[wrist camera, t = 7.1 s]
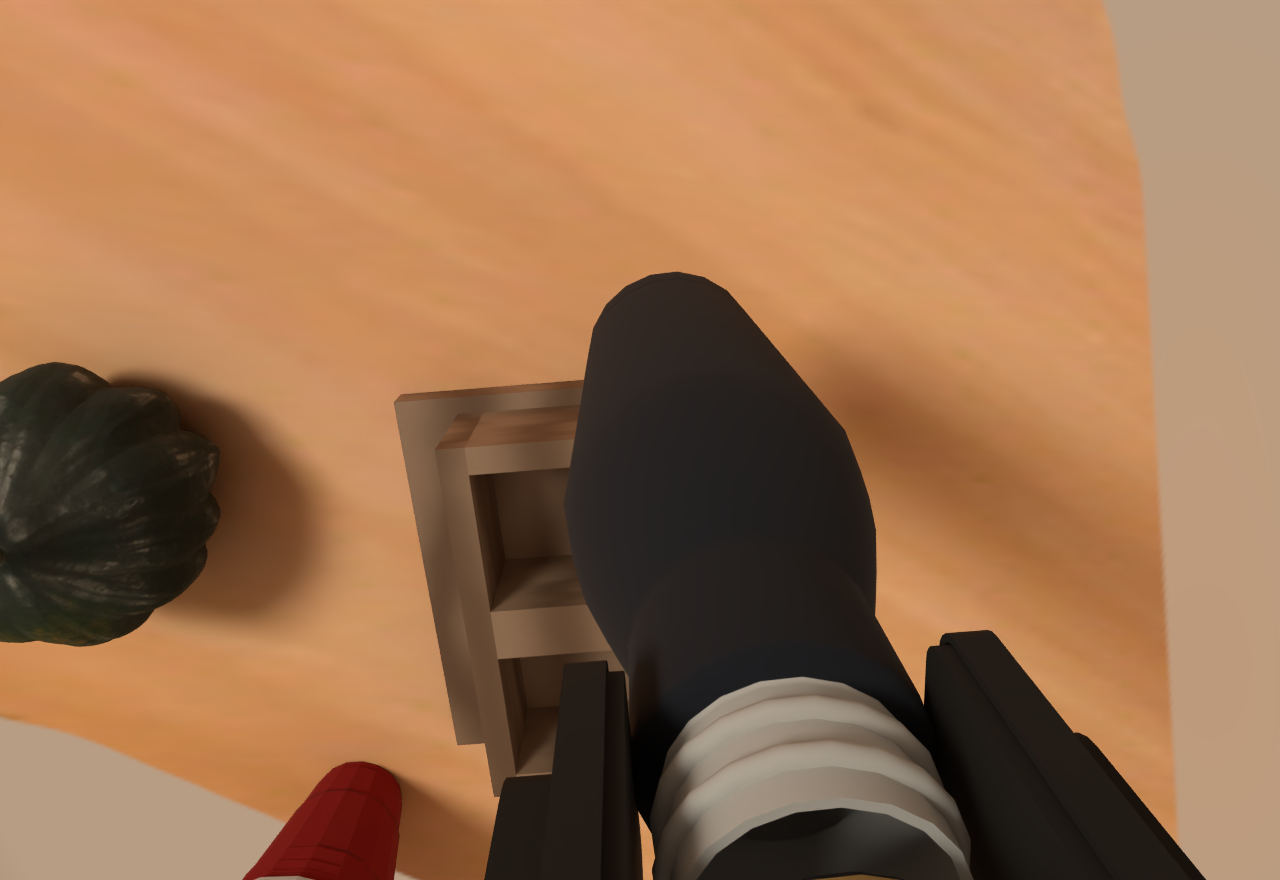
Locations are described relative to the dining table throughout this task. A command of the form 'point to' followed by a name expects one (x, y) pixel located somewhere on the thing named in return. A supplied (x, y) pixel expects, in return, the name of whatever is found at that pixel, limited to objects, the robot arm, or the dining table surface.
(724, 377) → the wine bottle
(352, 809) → the plastic cup
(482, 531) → the bottle rack
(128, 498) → the squash
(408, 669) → the dining table surface
